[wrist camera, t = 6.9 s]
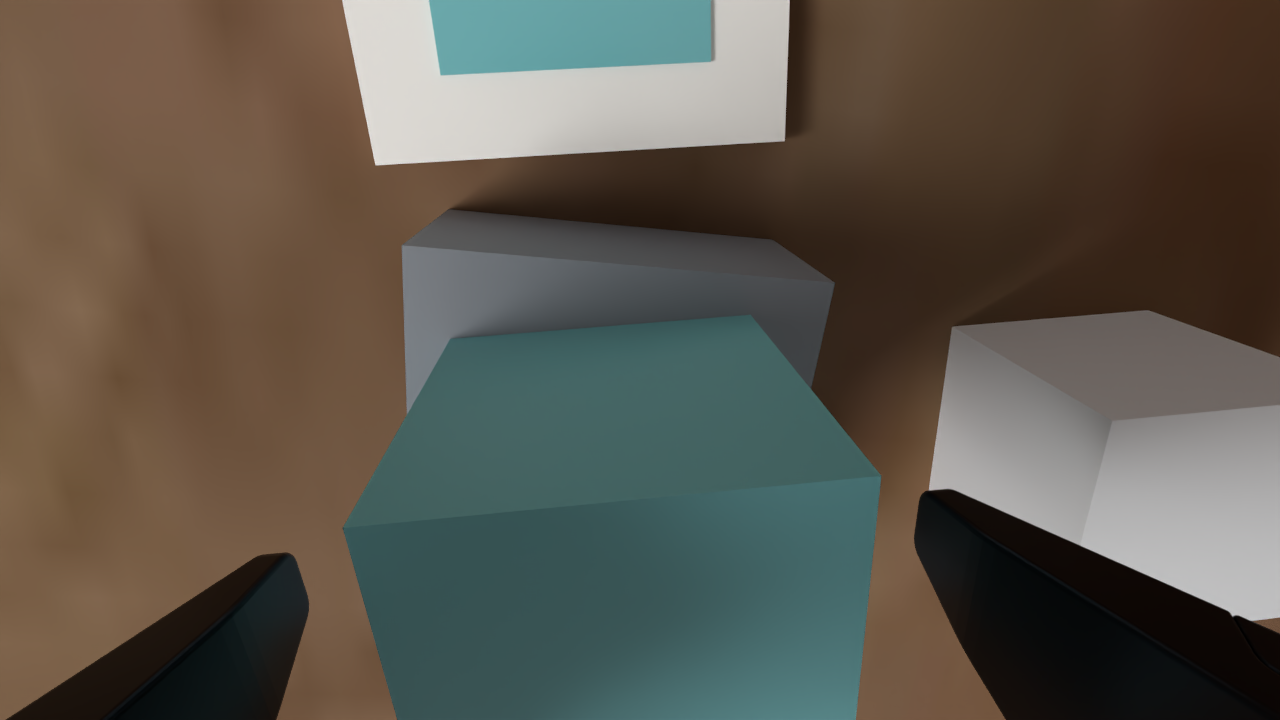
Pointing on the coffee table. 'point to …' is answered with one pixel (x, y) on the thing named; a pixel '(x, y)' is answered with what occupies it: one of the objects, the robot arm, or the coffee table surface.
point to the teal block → (618, 532)
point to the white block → (1125, 445)
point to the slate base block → (597, 284)
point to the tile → (567, 75)
